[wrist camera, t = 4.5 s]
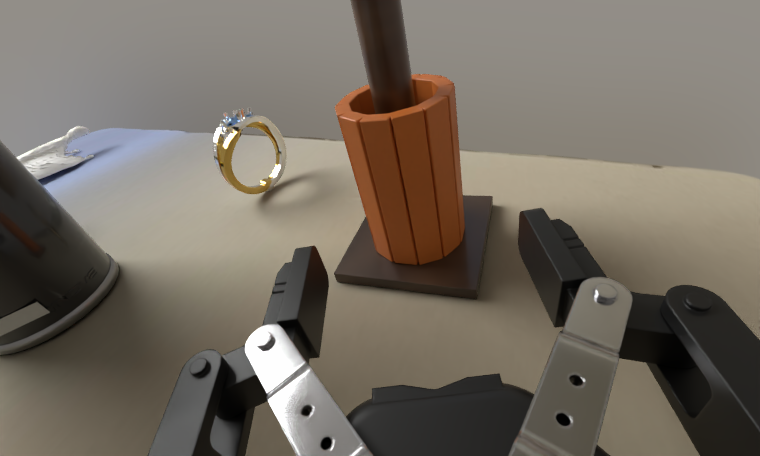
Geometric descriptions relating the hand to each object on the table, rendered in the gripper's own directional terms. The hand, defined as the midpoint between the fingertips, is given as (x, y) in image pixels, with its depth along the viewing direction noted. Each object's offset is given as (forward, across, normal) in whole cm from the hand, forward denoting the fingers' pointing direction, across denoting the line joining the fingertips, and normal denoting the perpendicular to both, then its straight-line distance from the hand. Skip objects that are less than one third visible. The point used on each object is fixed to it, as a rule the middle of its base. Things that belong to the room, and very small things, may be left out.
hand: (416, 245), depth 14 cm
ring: (+20, +14, +7) cm, 25 cm away
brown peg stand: (+8, 0, +7) cm, 11 cm away
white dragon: (+38, +55, +7) cm, 67 cm away
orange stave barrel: (+8, 0, +6) cm, 10 cm away
